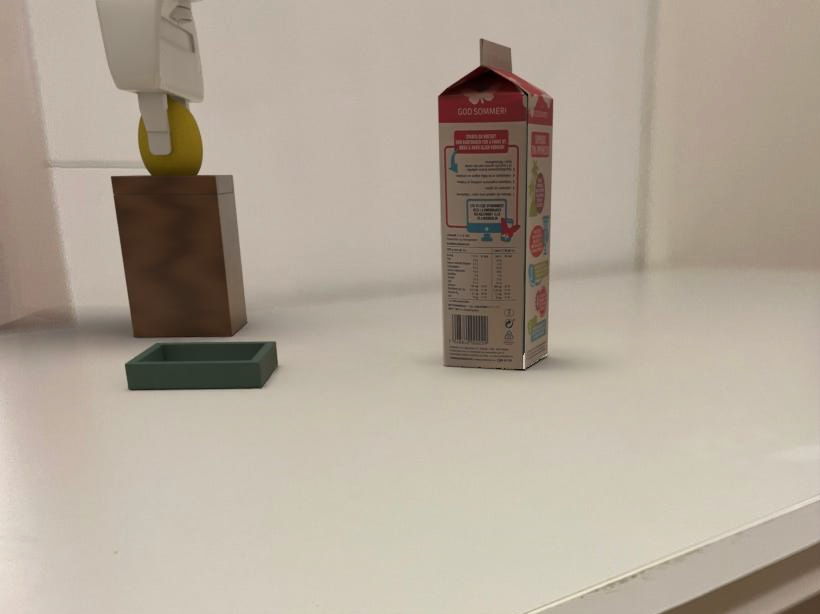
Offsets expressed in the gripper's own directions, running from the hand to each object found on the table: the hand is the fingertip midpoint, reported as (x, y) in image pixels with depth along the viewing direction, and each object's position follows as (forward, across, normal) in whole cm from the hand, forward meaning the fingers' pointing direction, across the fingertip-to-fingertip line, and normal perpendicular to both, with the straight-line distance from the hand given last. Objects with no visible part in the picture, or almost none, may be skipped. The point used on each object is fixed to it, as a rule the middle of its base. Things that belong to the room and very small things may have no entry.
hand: (171, 155), depth 91 cm
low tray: (+15, +24, +6) cm, 29 cm away
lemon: (+3, 0, 0) cm, 3 cm away
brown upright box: (+15, 0, 0) cm, 15 cm away
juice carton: (+15, +20, +28) cm, 37 cm away
